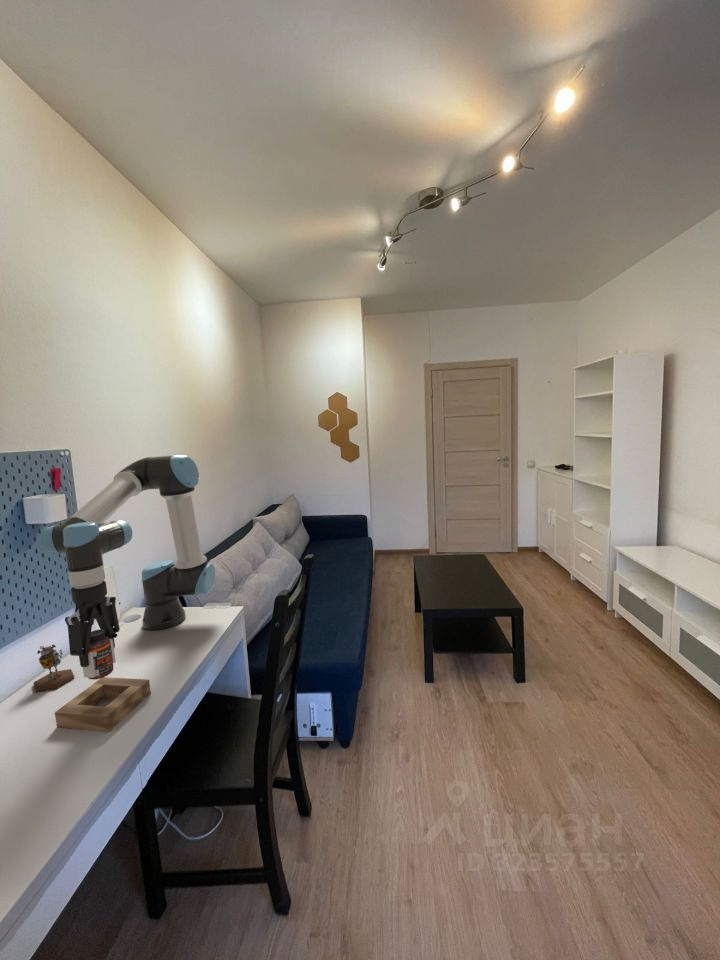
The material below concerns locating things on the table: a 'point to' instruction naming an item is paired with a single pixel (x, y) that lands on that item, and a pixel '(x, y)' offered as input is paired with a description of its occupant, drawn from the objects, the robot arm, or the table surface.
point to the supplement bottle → (101, 654)
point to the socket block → (100, 718)
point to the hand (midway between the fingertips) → (100, 669)
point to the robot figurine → (53, 678)
